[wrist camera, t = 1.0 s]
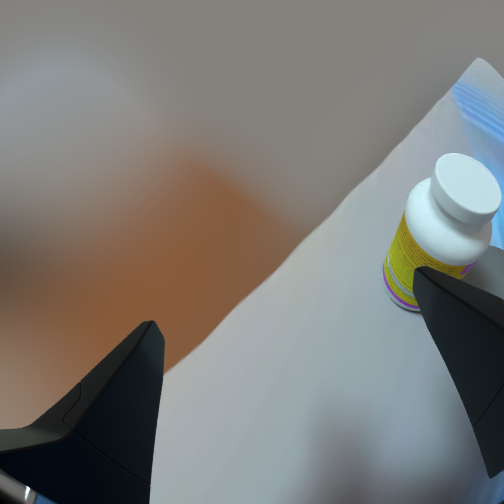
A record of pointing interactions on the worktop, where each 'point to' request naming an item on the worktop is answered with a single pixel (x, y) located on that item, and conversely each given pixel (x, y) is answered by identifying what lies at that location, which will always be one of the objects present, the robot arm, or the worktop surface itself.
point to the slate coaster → (488, 272)
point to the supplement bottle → (442, 225)
